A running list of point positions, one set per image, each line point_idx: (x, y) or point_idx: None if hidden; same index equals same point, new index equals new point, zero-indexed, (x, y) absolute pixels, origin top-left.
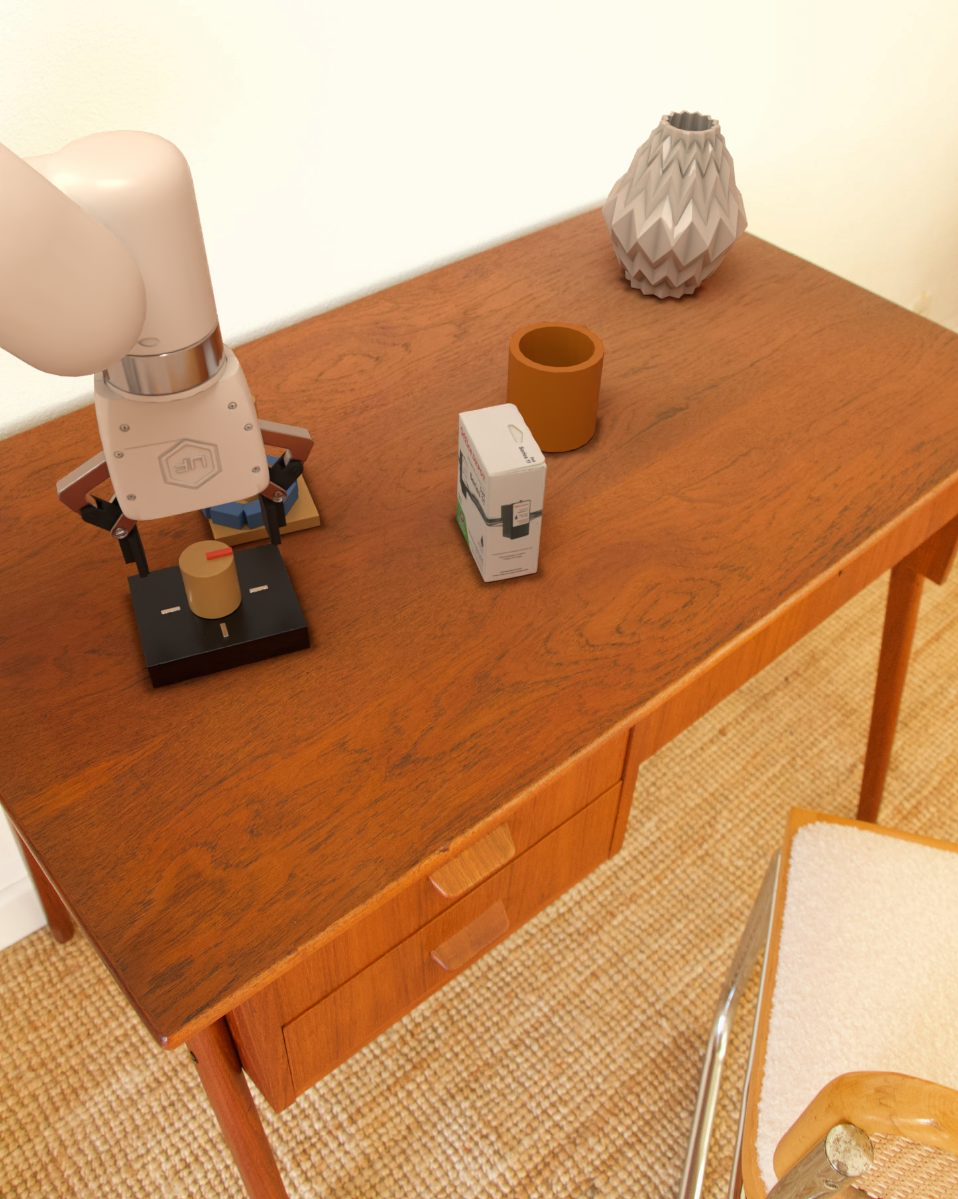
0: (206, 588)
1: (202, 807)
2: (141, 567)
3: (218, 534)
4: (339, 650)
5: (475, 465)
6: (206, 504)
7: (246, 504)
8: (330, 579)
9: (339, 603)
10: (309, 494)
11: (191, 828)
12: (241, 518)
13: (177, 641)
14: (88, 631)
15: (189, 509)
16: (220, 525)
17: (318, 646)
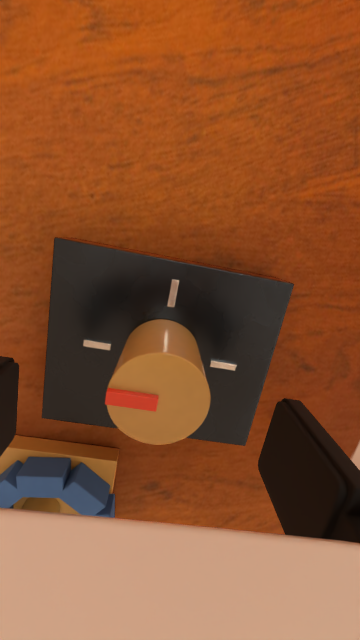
0: (180, 346)
1: (314, 38)
2: (305, 414)
3: (110, 466)
4: (35, 211)
5: None
6: (118, 546)
7: (56, 496)
8: (3, 340)
9: (6, 293)
10: None
11: (343, 9)
12: (72, 477)
13: (238, 307)
14: (298, 397)
15: (219, 545)
16: (103, 478)
17: (60, 234)
